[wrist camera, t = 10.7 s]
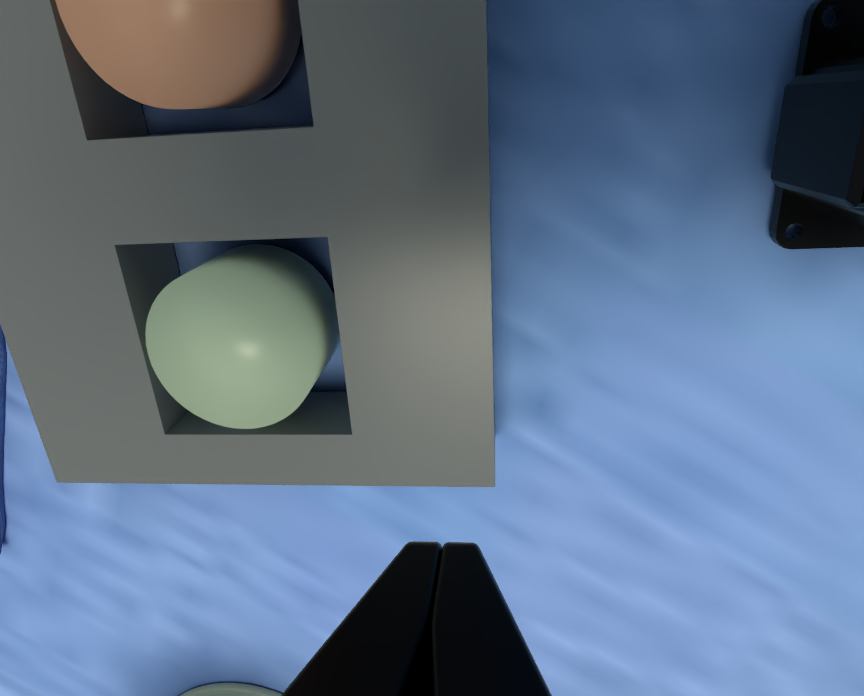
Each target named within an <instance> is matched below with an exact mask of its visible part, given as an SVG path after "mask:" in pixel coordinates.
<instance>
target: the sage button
mask: <svg viewBox="0 0 864 696" xmlns="http://www.w3.org/2000/svg"><path fill="white" fill-rule="evenodd" d="M339 335H340V333H339V325H338V317H337V309H336V301H335V297H334V295H333V292H332V290H331V288H330V287H329V285H328V284H327V282H326V280H325V279H324V278H323V277H322V275H321V274H320V273H319V272H318V271H317V270H316V269H315V268H314V267H313V266H312V265H311V264H309V263H308V262H307V261H306V260H304V259H303V258H301V257H300V256H298V255H296V254H294V253H292V252H290V251H288V250H286V249H283V248H280V247H276V246H272V245H266V244H249V245H242V246H238V247H235V248H232V249H230V250H227V251H225V252H223V253H222V254H220V255H218V256H216V257H214V258H213V259H211V260H209V261H207V262H205V263H204V264H202V265H200V266H198V267H196V268H194V269H193V270H191V271H189V272H187V273H185V274H184V275H182V276H180V277H178V278H177V279H175V280H173V281H172V282H171V283H169V284H168V285H167V286H166V287H165V288H164V289H163V290H162V291H161V292H160V293H159V295H158V296H157V297H156V299H155V301H154V302H153V304H152V306H151V309H150V311H149V314H148V318H147V322H146V332H145V336H146V347H147V352H148V356H149V359H150V362H151V365H152V367H153V369H154V371H155V374H156V375H157V377H158V379H159V380H160V382H161V384H162V385H163V386H164V387H165V389H166V390H167V391H168V393H169V394H170V395H171V396H172V397H173V398H174V399H175V400H176V401H177V402H178V403H180V404H181V405H182V406H183V407H184V408H186V409H187V410H189V411H190V412H192V413H193V414H195V415H197V416H198V417H200V418H202V419H204V420H207V421H209V422H211V423H214V424H217V425H221V426H224V427H230V428H237V429H253V428H260V427H265V426H268V425H271V424H275V423H277V422H279V421H281V420H283V419H284V418H286V417H287V416H289V415H290V414H292V413H293V412H294V411H295V410H296V409H297V408H298V407H299V406H300V404H301V403H302V402H303V401H304V399H305V398H306V396H307V395H308V393H309V392H310V390H311V388H312V387H313V385H314V384H315V382H316V381H317V379H318V377H319V376H320V374H321V373H322V371H323V370H324V368H325V366H326V365H327V363H328V362H329V360H330V359H331V357H332V355H333V353H334V352H335V349H336V346H337V344H338V340H339Z"/></svg>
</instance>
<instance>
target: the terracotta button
mask: <svg viewBox="0 0 864 696" xmlns="http://www.w3.org/2000/svg"><path fill="white" fill-rule="evenodd" d="M55 1H56V4H57V8H58V11H59V14H60V17H61V19H62V22H63V24H64V26H65V29H66V31H67V33H68V35H69V36H70V38H71V40H72V42H73V44H74V46H75V47H76V48H77V50H78V51H79V53H80V54H81V56H82V57H83V59H84V60H85V61H86V62H87V63H88V65H89V66H90V67H91V68H92V69H93V70H94V71H95V72H96V73H97V74H98V75H99V76H100V77H101V78H102V79H103V80H104V81H105V82H106V83H108V84H109V85H110V86H112V87H113V88H114V89H116V90H117V91H119V92H120V93H122V94H124V95H125V96H127V97H129V98H131V99H133V100H135V101H138V102H140V103H142V104H146V105H149V106H152V107H157V108H163V109H220V108H236V107H242V106H245V105H249V104H252V103H254V102H256V101H258V100H260V99H262V98H263V97H265V96H266V95H268V94H269V93H270V92H271V91H273V90H274V89H275V88H276V87H277V86H278V85H279V84H280V82H281V81H282V80H283V79H284V77H285V76H286V74H287V73H288V71H289V69H290V68H291V66H292V63H293V61H294V59H295V56H296V54H297V50H298V47H299V43H300V37H301V31H302V29H301V21H300V13H299V5H298V0H55Z"/></svg>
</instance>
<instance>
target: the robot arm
mask: <svg viewBox="0 0 864 696" xmlns="http://www.w3.org/2000/svg"><path fill="white" fill-rule="evenodd" d="M828 7H829V8H832V9H833V11H834V12H835V19H834V21H833V24H831V25H830V26H829V27H825V26H824V24H823V23H822V15H823V13H824V11H825V10H826V9H827V8H828ZM771 179H772V180H773V182H774V183H775V184H776V185H777V190H776V196H775V202H774V208H773V215H772V221H771V227H770V237H771V238H772V240H773V242H775V243H776V244H778V245H779V246H781V247H783V248H787V249H810V248H841V247H864V0H817V1H816V2H815V3H813V4H812V5H811V7H810V8H809V9H808V11H807V13H806V16H805V18H804V23H803V29H802V35H801V41H800V48H799V54H798V60H797V66H796V72H795V77H794V78H793V79H792V80H791V81H790V82H789V83H788V84H787V85H786V87H785V90H784V96H783V102H782V109H781V115H780V121H779V128H778V134H777V141H776V147H775V153H774V160H773V166H772V172H771ZM794 223H796V224H797V230H796V233H795V234H794V235H793V236H791V237H789V238H786V237H785V231H786V228H787V227H788V226H790V225H791V224H794ZM281 696H552V695H551V693H550V691H549V689H548V687H547V685H546V683H545V681H544V679H543V677H542V675H541V673H540V671H539V669H538V667H537V665H536V663H535V661H534V659H533V657H532V654H531V652H530V650H529V648H528V646H527V644H526V642H525V640H524V638H523V636H522V634H521V632H520V630H519V628H518V626H517V624H516V622H515V620H514V618H513V616H512V613H511V611H510V609H509V607H508V605H507V603H506V601H505V599H504V597H503V595H502V593H501V591H500V589H499V587H498V585H497V583H496V581H495V579H494V577H493V575H492V573H491V570H490V568H489V566H488V564H487V562H486V560H485V558H484V556H483V554H482V552H481V550H480V548H479V547H478V545H477V544H475V543H461V542H448V543H446V544H444V546H443V547H442V546H441V544H440V543H438V542H409V543H407V544H406V545H405V546H404V547H403V548H402V550H401V551H400V552H399V553H398V555H397V556H396V557H395V558H394V559H393V561H392V562H391V563H390V564H389V565H388V567H387V568H386V569H385V570H384V572H383V573H382V574H381V575H380V576H379V578H378V579H377V580H376V581H375V582H374V584H373V585H372V586H371V587H370V588H369V590H368V591H367V592H366V593H365V595H364V596H363V597H362V598H361V599H360V601H359V602H358V603H357V604H356V605H355V607H354V608H353V609H352V610H351V612H350V613H349V614H348V615H347V616H346V618H345V619H344V620H343V621H342V622H341V624H340V625H339V626H338V627H337V628H336V630H335V631H334V632H333V633H332V635H331V636H330V637H329V638H328V639H327V641H326V642H325V643H324V644H323V645H322V647H321V648H320V649H319V650H318V652H317V653H316V654H315V655H314V656H313V658H312V659H311V660H310V661H309V662H308V664H307V665H306V666H305V667H304V668H303V670H302V671H301V672H300V673H299V675H298V676H297V677H296V678H295V679H294V681H293V682H292V683H291V684H290V685H289V687H288V688H287V689H286V690H285V692H284V693H283V694H282V695H281Z"/></svg>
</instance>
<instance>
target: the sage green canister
mask: <svg viewBox="0 0 864 696" xmlns="http://www.w3.org/2000/svg"><path fill="white" fill-rule="evenodd" d="M281 695H282V694H281V693H278V692H275V691H273V690H270V689H266V688H263V687H259V686H255V685H249V684H242V683H215V684H209V685H204V686H200V687H197V688H194V689H191V690H189V691H187V692H185V693H184V694H182V695H180V696H281Z"/></svg>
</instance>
